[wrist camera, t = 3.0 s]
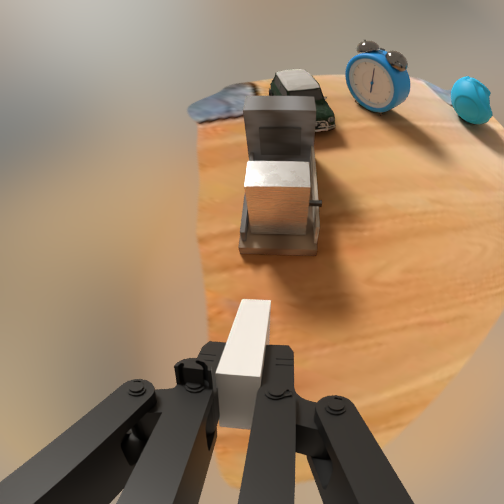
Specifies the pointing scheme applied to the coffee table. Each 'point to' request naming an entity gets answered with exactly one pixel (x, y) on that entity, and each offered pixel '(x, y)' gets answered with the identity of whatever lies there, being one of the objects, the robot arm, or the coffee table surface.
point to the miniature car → (304, 94)
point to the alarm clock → (378, 77)
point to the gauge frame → (281, 149)
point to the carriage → (278, 196)
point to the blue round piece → (471, 100)
